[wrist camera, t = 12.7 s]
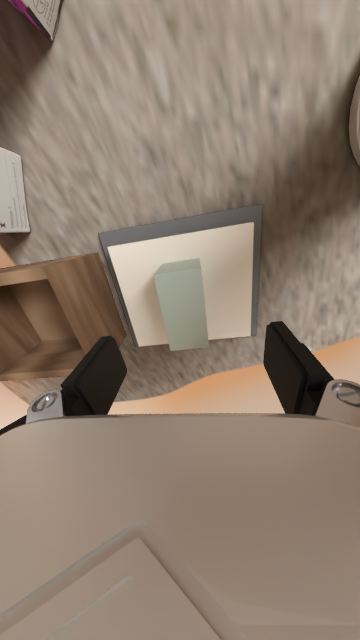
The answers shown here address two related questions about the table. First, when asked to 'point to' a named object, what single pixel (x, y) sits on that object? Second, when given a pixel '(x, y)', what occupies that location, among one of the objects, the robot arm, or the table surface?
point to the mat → (189, 226)
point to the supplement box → (12, 194)
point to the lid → (188, 286)
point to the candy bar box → (40, 14)
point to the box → (54, 316)
